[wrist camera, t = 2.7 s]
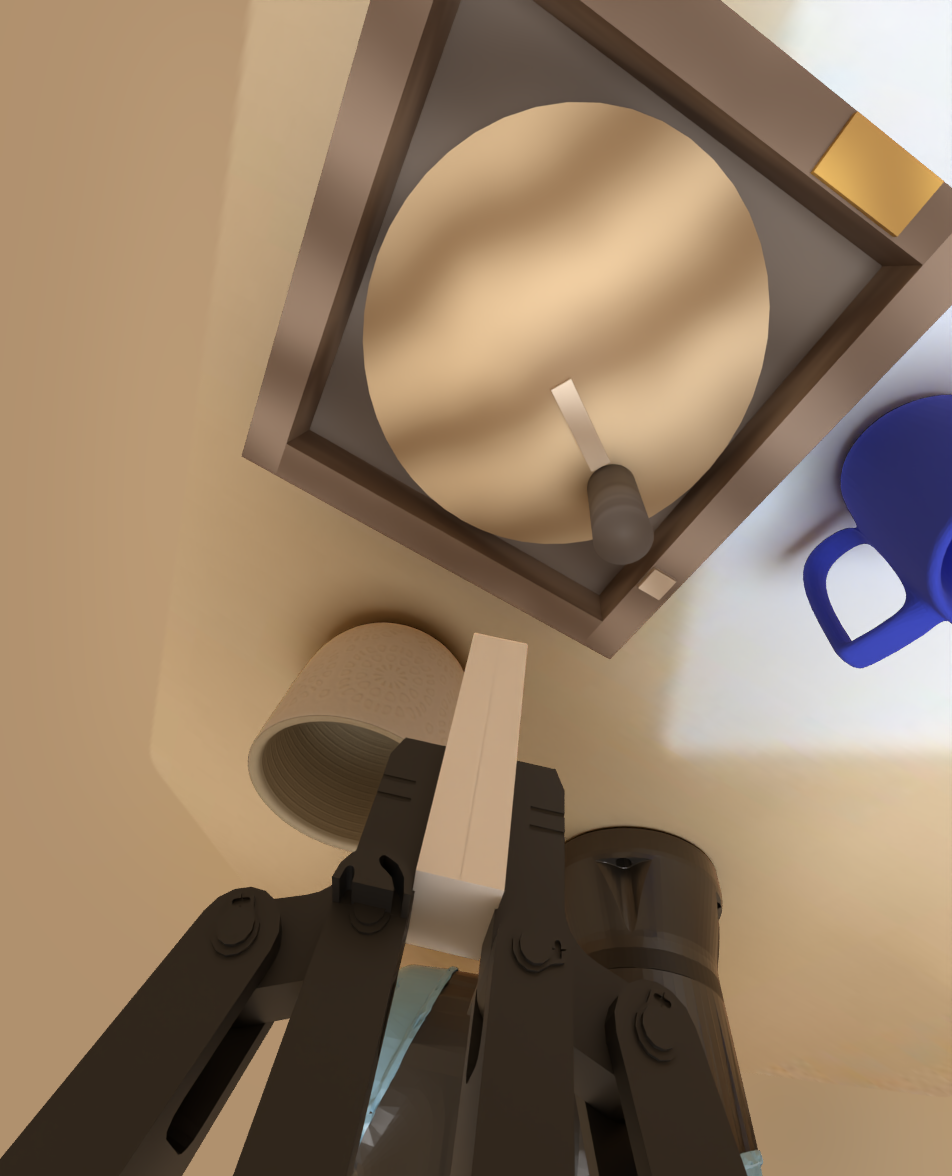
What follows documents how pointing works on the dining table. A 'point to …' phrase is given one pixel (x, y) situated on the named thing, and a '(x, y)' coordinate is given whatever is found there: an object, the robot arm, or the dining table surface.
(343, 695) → the planter
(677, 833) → the dining table surface
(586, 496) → the dial
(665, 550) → the brown wooden tray
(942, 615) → the mug
